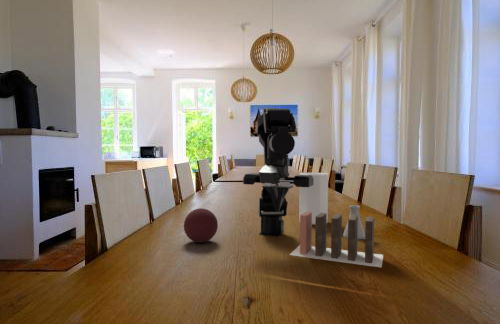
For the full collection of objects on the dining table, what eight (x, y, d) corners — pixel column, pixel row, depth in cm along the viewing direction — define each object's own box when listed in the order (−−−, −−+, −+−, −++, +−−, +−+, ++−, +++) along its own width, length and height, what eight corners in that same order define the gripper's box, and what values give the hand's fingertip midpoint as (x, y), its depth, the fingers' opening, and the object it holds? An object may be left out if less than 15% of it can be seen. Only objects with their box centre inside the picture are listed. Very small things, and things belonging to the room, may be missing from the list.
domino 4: (347, 260, 80) (348, 219, 80) (350, 253, 86) (351, 215, 86) (354, 261, 80) (354, 220, 79) (357, 253, 85) (357, 215, 85)
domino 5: (364, 262, 79) (365, 220, 78) (367, 255, 84) (367, 216, 84) (372, 263, 78) (372, 221, 78) (373, 255, 84) (374, 216, 83)
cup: (332, 221, 127) (332, 173, 126) (322, 226, 118) (322, 175, 117) (305, 217, 133) (305, 172, 132) (293, 222, 124) (293, 173, 123)
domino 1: (299, 253, 85) (300, 215, 85) (305, 247, 91) (306, 211, 90) (305, 254, 85) (306, 216, 84) (311, 248, 90) (311, 212, 90)
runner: (289, 256, 84) (289, 254, 84) (300, 246, 94) (300, 244, 94) (381, 269, 75) (381, 267, 75) (383, 256, 85) (383, 254, 85)
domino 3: (331, 257, 82) (331, 218, 82) (335, 251, 88) (335, 213, 87) (337, 258, 81) (338, 218, 81) (341, 251, 87) (341, 214, 87)
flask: (368, 241, 99) (368, 208, 98) (343, 240, 100) (343, 207, 100) (364, 235, 106) (365, 204, 105) (341, 234, 107) (341, 203, 107)
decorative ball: (224, 241, 98) (224, 208, 98) (198, 249, 91) (197, 213, 90) (203, 235, 105) (203, 204, 104) (177, 242, 98) (176, 208, 97)
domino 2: (315, 255, 84) (315, 216, 83) (320, 249, 89) (320, 212, 89) (321, 256, 83) (321, 217, 83) (326, 250, 89) (326, 213, 88)
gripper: (234, 154, 87) (234, 213, 87) (303, 155, 79) (302, 219, 80) (251, 154, 97) (251, 206, 97) (314, 154, 89) (313, 211, 90)
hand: (277, 211), depth 91 cm, fingers closed
